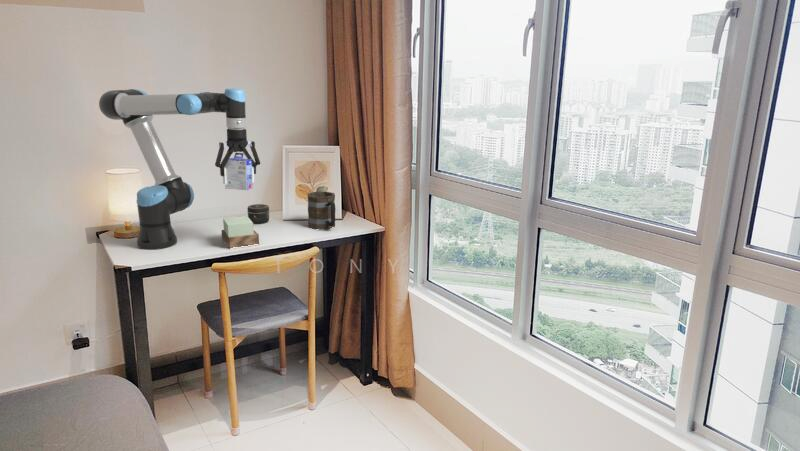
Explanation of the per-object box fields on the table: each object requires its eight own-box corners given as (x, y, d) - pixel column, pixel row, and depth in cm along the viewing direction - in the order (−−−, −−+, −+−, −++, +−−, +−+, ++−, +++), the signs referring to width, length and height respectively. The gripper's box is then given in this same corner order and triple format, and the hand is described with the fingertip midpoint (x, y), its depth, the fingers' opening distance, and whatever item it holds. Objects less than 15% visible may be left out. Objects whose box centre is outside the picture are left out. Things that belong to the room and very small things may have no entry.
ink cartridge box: (253, 188, 231) (252, 153, 227) (247, 190, 226) (246, 155, 222) (231, 186, 233) (229, 151, 229) (224, 189, 228) (223, 153, 224)
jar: (245, 224, 262) (244, 208, 260) (251, 218, 272) (250, 203, 270) (266, 225, 262) (265, 209, 260) (272, 219, 271) (271, 204, 269)
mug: (302, 224, 264) (301, 193, 260) (328, 220, 271) (327, 190, 267) (320, 234, 248) (319, 201, 244) (347, 230, 255) (347, 198, 251)
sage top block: (228, 237, 226) (227, 225, 225) (223, 229, 237) (223, 218, 235) (253, 234, 230) (253, 222, 229) (247, 227, 241) (247, 216, 239)
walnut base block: (230, 249, 227) (229, 238, 225) (222, 241, 237) (221, 230, 236) (259, 245, 232) (258, 234, 231) (250, 237, 243) (249, 226, 242)
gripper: (209, 130, 214) (212, 186, 220) (267, 128, 226) (269, 182, 232) (204, 128, 220) (207, 183, 226) (261, 126, 232) (263, 179, 238)
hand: (238, 182), depth 229 cm, fingers closed on ink cartridge box, 10 cm apart
